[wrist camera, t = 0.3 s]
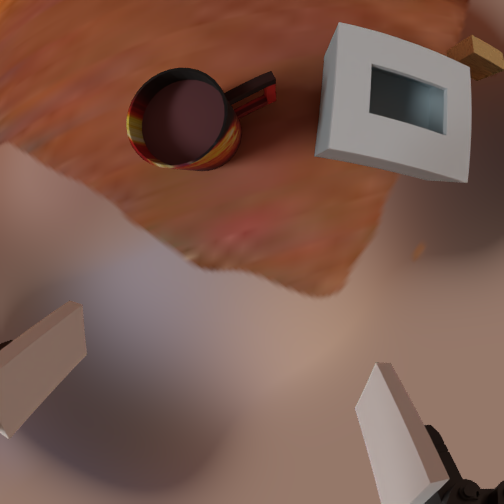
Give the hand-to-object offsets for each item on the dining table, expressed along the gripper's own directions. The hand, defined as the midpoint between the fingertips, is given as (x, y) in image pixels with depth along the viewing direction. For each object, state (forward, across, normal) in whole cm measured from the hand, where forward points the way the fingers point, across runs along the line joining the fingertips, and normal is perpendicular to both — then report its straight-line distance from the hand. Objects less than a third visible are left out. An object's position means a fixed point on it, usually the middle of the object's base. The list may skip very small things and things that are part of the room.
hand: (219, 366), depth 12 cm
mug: (+28, -8, +14) cm, 32 cm away
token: (+28, +26, +33) cm, 50 cm away
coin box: (+28, +13, +19) cm, 36 cm away
